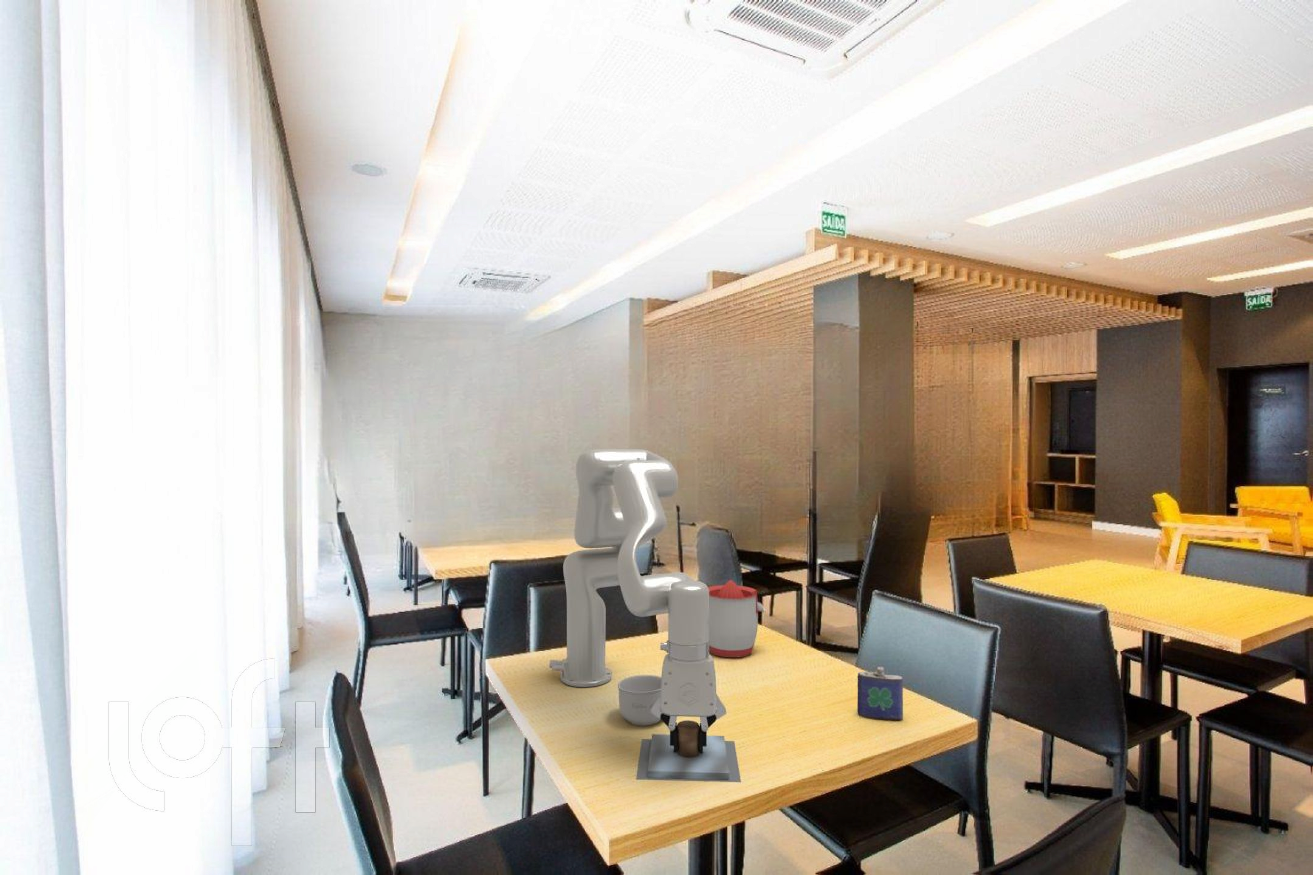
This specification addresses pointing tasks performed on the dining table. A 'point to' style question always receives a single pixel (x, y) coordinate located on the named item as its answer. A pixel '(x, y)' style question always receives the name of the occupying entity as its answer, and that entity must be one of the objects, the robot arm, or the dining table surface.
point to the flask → (880, 695)
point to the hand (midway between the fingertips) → (688, 748)
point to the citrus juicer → (733, 619)
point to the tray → (733, 777)
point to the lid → (688, 755)
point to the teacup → (639, 698)
